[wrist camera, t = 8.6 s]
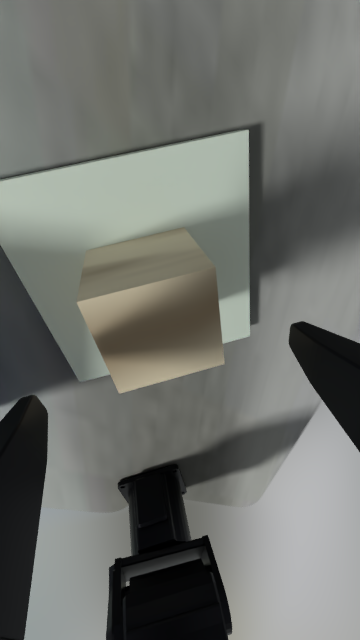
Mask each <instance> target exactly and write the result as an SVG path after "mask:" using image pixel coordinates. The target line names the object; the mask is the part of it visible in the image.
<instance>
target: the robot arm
mask: <svg viewBox="0 0 360 640" xmlns="http://www.w3.org/2000/svg"><path fill="white" fill-rule="evenodd" d="M289 345H290V348H291V350H292V351H293V353H294V355H295V357H296V359H297V360H298V362H299V364H300V366H301V367H302V369H303V371H304V373H305V375H306V376H307V378H308V380H309V381H310V383H311V384H312V386H313V387H314V389H315V390H316V392H317V393H318V394H319V396H320V397H321V399H322V400H323V401H324V403H325V404H326V406H327V407H328V408H329V410H330V411H331V412H332V414H333V415H334V417H335V418H336V419H337V421H338V422H339V424H340V425H341V426H342V428H343V429H344V431H345V432H346V433H347V435H348V436H349V438H350V439H351V440H352V442H353V443H354V445H355V446H356V447H357V449H358V450H359V452H360V343H357V342H355V341H352V340H350V339H347V338H345V337H342V336H339V335H337V334H334V333H332V332H329V331H327V330H324V329H322V328H319V327H317V326H314V325H312V324H309V323H306V322H303V321H301V322H297V323H293V324H292V325H291V327H290V334H289ZM47 443H48V413H47V410H46V408H45V407H44V405H43V404H42V403H41V401H40V400H39V399H38V397H37V396H35V395H29V396H26V397H22V398H21V399H19V400H18V402H17V403H16V404H15V405H14V406H13V407H12V409H11V410H10V411H9V412H8V413H7V414H6V416H5V417H4V418H3V419H2V420H1V421H0V640H24V635H25V627H26V620H27V612H28V604H29V596H30V588H31V581H32V573H33V565H34V558H35V550H36V542H37V535H38V527H39V519H40V510H41V504H42V496H43V489H44V481H45V473H46V465H47ZM118 489H119V491H120V492H121V494H122V495H123V496H124V498H125V499H126V501H127V502H128V504H129V518H130V536H131V554H132V556H130V557H126V558H122V559H121V558H117V559H115V564H114V565H112V566H111V567H109V603H108V617H107V631H106V640H228V635H230V634H232V622H231V615H230V610H229V605H228V601H227V597H226V593H225V589H224V586H223V582H222V579H221V576H220V573H219V570H218V567H217V563H216V560H215V557H214V553H213V550H212V547H211V544H210V541H209V538H208V535H206V536H203V537H202V538H199V539H195V540H191V536H190V531H189V526H188V522H187V516H186V512H185V507H184V502H183V497H182V495H183V494H185V493H186V492H187V491H186V487H185V484H184V481H183V478H182V475H181V473H180V470H179V467H178V465H172V466H169V467H166V468H162V469H159V470H156V471H153V472H149V473H146V474H143V475H140V476H136V477H133V478H130V479H126V480H123V481H120V482H119V483H118ZM127 581H130V586H127V587H126V582H127Z"/></svg>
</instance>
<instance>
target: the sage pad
mask: <svg viewBox="0 0 360 640" xmlns="http://www.w3.org/2000/svg"><path fill="white" fill-rule="evenodd" d="M183 227H184V228H185V229H186V230H187V232H188V233H189V234H190V235H191V237H192V238H193V239H194V240H195V242H196V243H197V244H198V245H199V247H200V248H201V249H202V251H203V252H204V253H205V254H206V256H207V257H208V258H209V259H210V261H211V262H212V263H213V264H214V266H215V267H216V277H217V288H218V299H219V310H220V320H221V331H222V342H223V343H227V342H230V341H234V340H238V339H241V338H245V337H249V336H250V267H249V130H237V131H232V132H227V133H222V134H218V135H213V136H208V137H203V138H198V139H193V140H189V141H184V142H179V143H174V144H169V145H164V146H160V147H155V148H150V149H145V150H140V151H136V152H131V153H126V154H121V155H116V156H111V157H107V158H102V159H97V160H92V161H87V162H82V163H78V164H73V165H68V166H63V167H58V168H53V169H49V170H44V171H39V172H34V173H29V174H24V175H20V176H15V177H10V178H5V179H0V245H1V247H2V249H3V250H4V252H5V254H6V256H7V257H8V259H9V261H10V262H11V264H12V266H13V268H14V269H15V271H16V273H17V275H18V276H19V278H20V280H21V281H22V283H23V285H24V287H25V288H26V290H27V292H28V294H29V295H30V297H31V299H32V301H33V302H34V304H35V306H36V307H37V309H38V311H39V313H40V314H41V316H42V318H43V320H44V321H45V323H46V325H47V326H48V328H49V330H50V332H51V333H52V335H53V337H54V339H55V340H56V342H57V344H58V345H59V347H60V349H61V351H62V352H63V354H64V356H65V358H66V359H67V361H68V363H69V365H70V366H71V368H72V370H73V371H74V373H75V375H76V377H77V378H78V380H79V382H84V381H87V380H91V379H95V378H98V377H102V376H106V375H109V374H110V373H109V370H108V368H107V366H106V364H105V362H104V360H103V358H102V356H101V353H100V351H99V349H98V347H97V345H96V343H95V341H94V339H93V336H92V334H91V332H90V330H89V328H88V326H87V324H86V322H85V319H84V317H83V315H82V313H81V311H80V309H79V307H78V305H77V296H78V291H79V285H80V280H81V275H82V269H83V264H84V258H85V253H86V250H91V249H95V248H99V247H103V246H107V245H111V244H116V243H120V242H124V241H128V240H132V239H137V238H141V237H145V236H149V235H153V234H158V233H162V232H166V231H170V230H174V229H179V228H183Z"/></svg>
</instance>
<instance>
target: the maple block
mask: <svg viewBox="0 0 360 640" xmlns="http://www.w3.org/2000/svg"><path fill="white" fill-rule="evenodd" d="M77 305H78V307H79V309H80V311H81V313H82V315H83V317H84V319H85V322H86V324H87V326H88V328H89V330H90V332H91V334H92V336H93V339H94V341H95V343H96V345H97V347H98V349H99V351H100V353H101V356H102V358H103V360H104V362H105V364H106V366H107V368H108V370H109V373H110V375H111V377H112V379H113V381H114V383H115V385H116V387H117V390H118V392H119V394H120V393H124V392H127V391H131V390H134V389H138V388H141V387H145V386H148V385H152V384H155V383H159V382H162V381H166V380H170V379H173V378H177V377H180V376H184V375H187V374H191V373H194V372H198V371H201V370H205V369H208V368H212V367H215V366H219V365H223V364H224V353H223V342H222V331H221V320H220V310H219V299H218V288H217V277H216V267H215V266H214V264H213V263H212V262H211V261H210V259H209V258H208V257H207V256H206V254H205V253H204V252H203V251H202V249H201V248H200V247H199V245H198V244H197V243H196V242H195V240H194V239H193V238H192V237H191V235H190V234H189V233H188V232H187V230H186V229H185V228H184V227H183V228H179V229H174V230H170V231H166V232H162V233H158V234H153V235H149V236H145V237H141V238H137V239H132V240H128V241H124V242H120V243H116V244H111V245H107V246H103V247H99V248H95V249H91V250H86V253H85V258H84V264H83V269H82V275H81V280H80V285H79V291H78V296H77Z"/></svg>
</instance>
